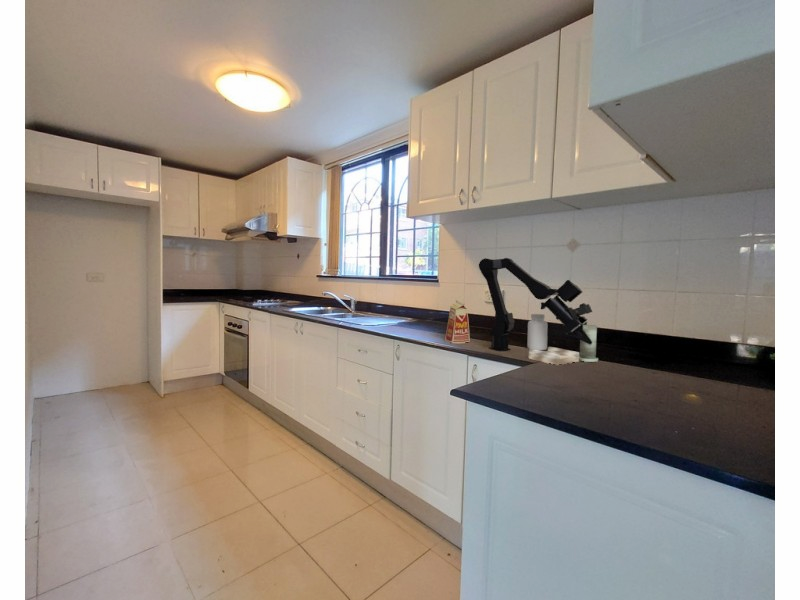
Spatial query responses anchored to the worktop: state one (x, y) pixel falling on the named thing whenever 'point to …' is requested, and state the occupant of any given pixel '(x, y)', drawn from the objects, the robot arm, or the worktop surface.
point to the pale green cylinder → (589, 345)
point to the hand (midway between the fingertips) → (592, 342)
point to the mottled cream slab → (554, 356)
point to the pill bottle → (537, 332)
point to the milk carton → (458, 324)
